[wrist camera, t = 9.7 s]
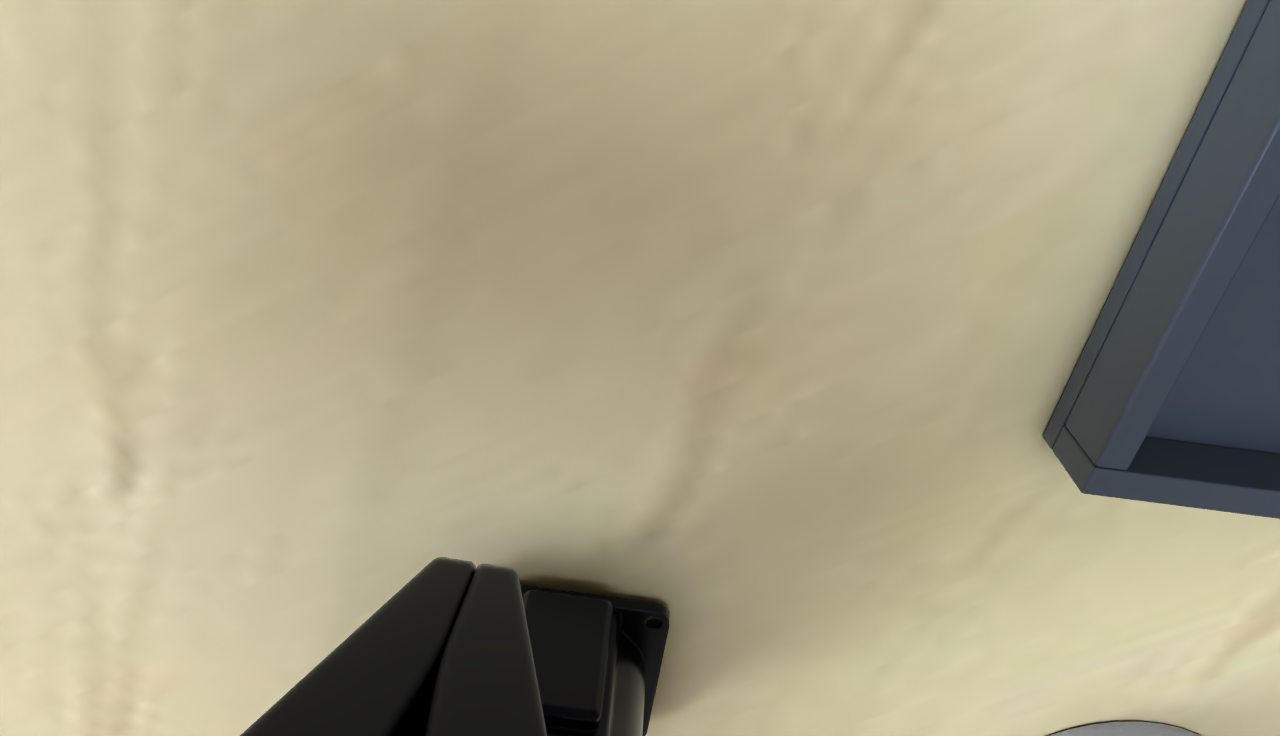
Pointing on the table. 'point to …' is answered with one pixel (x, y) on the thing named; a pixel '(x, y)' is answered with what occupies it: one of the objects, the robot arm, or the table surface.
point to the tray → (1195, 313)
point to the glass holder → (1126, 730)
